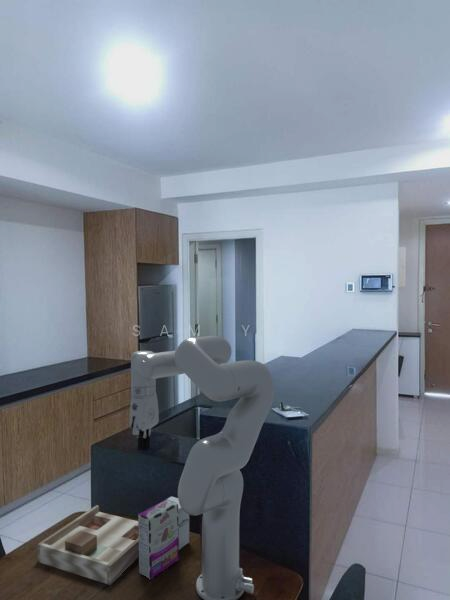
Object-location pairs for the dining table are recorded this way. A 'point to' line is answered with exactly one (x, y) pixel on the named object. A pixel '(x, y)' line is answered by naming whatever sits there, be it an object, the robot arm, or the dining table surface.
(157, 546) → the candy bar box
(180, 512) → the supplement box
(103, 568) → the tray
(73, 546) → the walnut block
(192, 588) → the dining table surface
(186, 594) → the dining table surface
